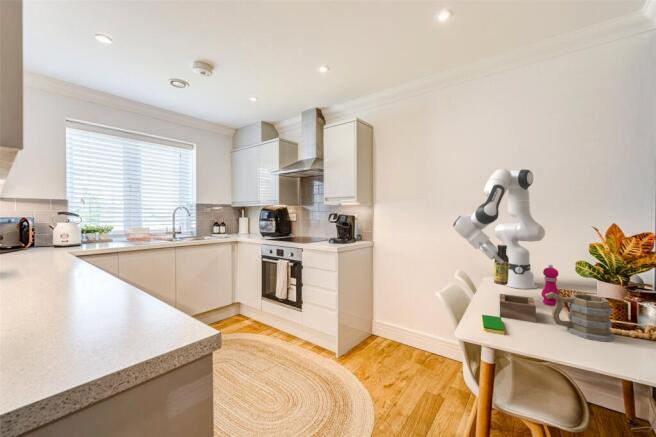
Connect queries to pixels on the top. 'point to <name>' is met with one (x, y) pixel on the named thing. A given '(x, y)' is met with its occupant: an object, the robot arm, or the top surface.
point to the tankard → (585, 316)
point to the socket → (517, 308)
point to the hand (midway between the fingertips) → (502, 261)
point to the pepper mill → (550, 285)
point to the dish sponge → (492, 324)
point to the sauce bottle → (501, 266)
